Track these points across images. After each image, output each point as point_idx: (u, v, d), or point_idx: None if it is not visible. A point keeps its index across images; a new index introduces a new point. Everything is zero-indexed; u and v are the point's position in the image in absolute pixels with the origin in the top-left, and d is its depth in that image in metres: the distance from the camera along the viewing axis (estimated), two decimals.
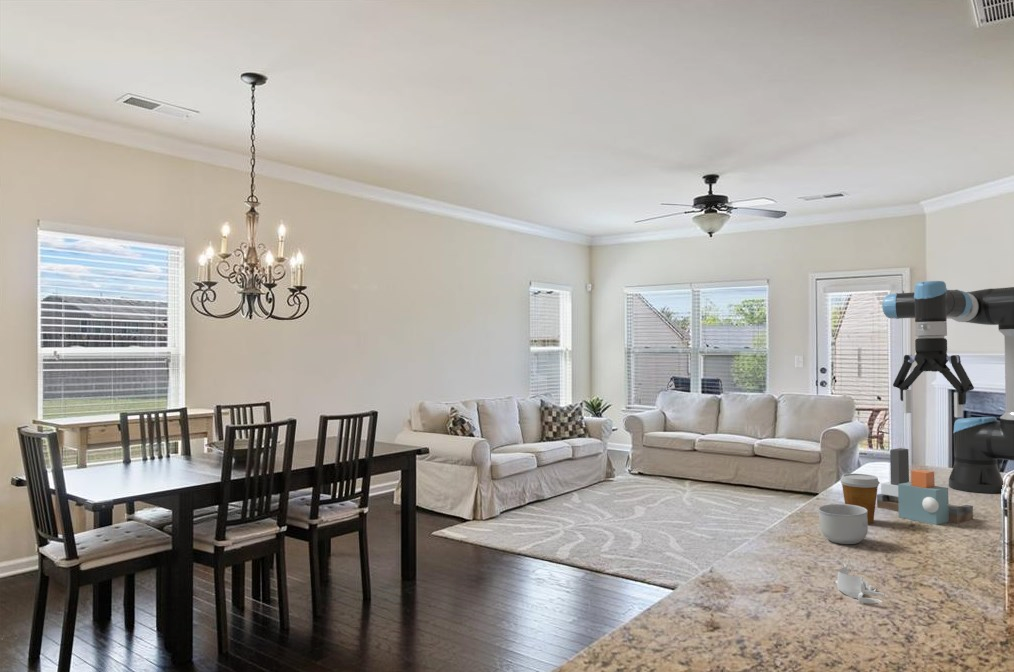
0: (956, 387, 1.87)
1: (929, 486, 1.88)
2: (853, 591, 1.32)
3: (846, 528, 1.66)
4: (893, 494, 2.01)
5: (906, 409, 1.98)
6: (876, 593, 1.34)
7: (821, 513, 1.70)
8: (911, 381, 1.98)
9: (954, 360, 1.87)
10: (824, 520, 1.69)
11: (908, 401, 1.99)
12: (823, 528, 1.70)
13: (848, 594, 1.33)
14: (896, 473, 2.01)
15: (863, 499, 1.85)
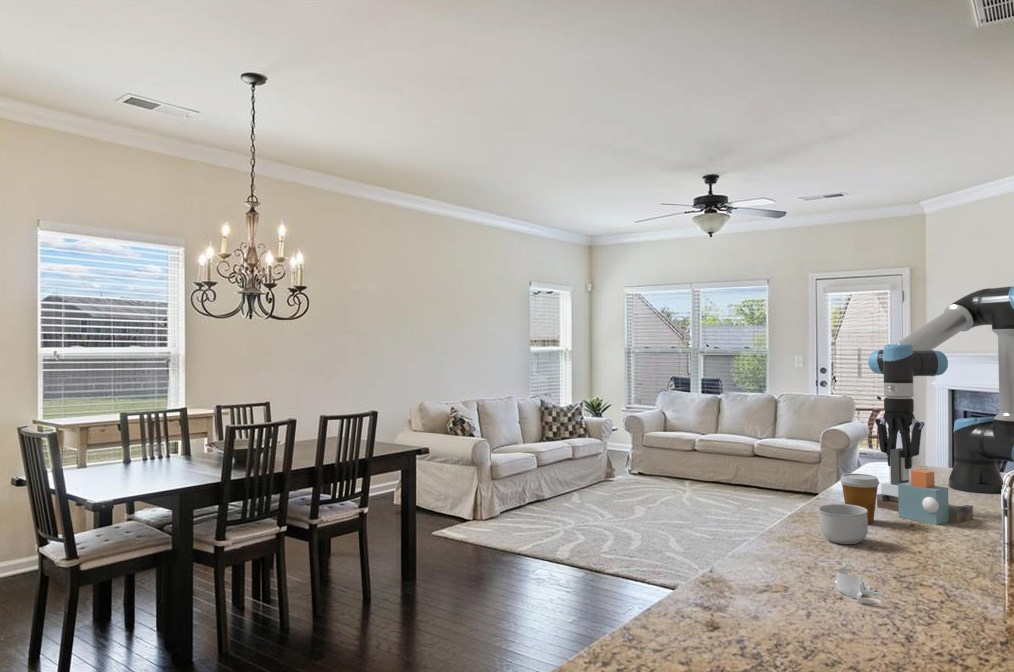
0: (904, 451, 2.01)
1: (929, 486, 1.88)
2: (852, 591, 1.32)
3: (846, 528, 1.66)
4: (893, 494, 2.01)
5: None
6: (875, 593, 1.34)
7: (821, 513, 1.70)
8: (893, 444, 2.04)
9: (916, 427, 1.98)
10: (824, 520, 1.69)
11: None
12: (823, 528, 1.70)
13: (847, 594, 1.33)
14: (897, 473, 2.01)
15: (863, 499, 1.85)
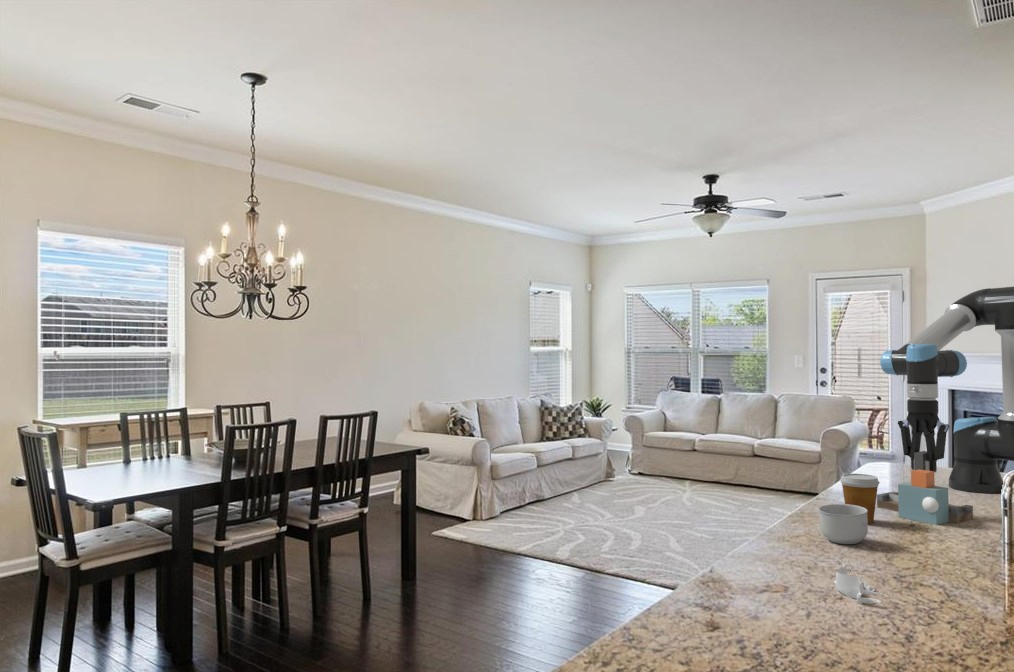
0: (929, 455, 1.95)
1: (929, 486, 1.88)
2: (852, 591, 1.32)
3: (846, 528, 1.66)
4: None
5: None
6: (874, 593, 1.34)
7: (821, 513, 1.70)
8: (917, 446, 1.99)
9: (941, 429, 1.92)
10: (824, 520, 1.69)
11: None
12: (823, 528, 1.70)
13: (846, 594, 1.33)
14: None
15: (863, 499, 1.85)
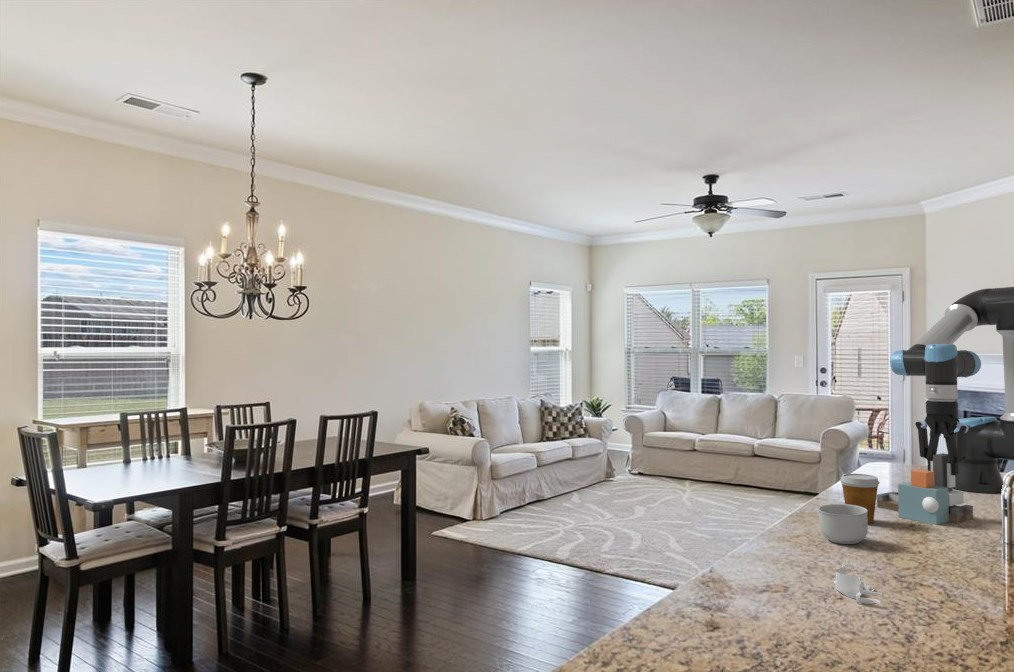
0: (950, 457, 1.90)
1: (929, 486, 1.88)
2: (851, 591, 1.32)
3: (846, 528, 1.66)
4: None
5: None
6: (874, 593, 1.34)
7: (821, 513, 1.70)
8: (934, 448, 1.95)
9: (962, 431, 1.87)
10: (824, 520, 1.69)
11: None
12: (823, 528, 1.70)
13: (846, 594, 1.33)
14: (940, 480, 1.91)
15: (863, 499, 1.85)
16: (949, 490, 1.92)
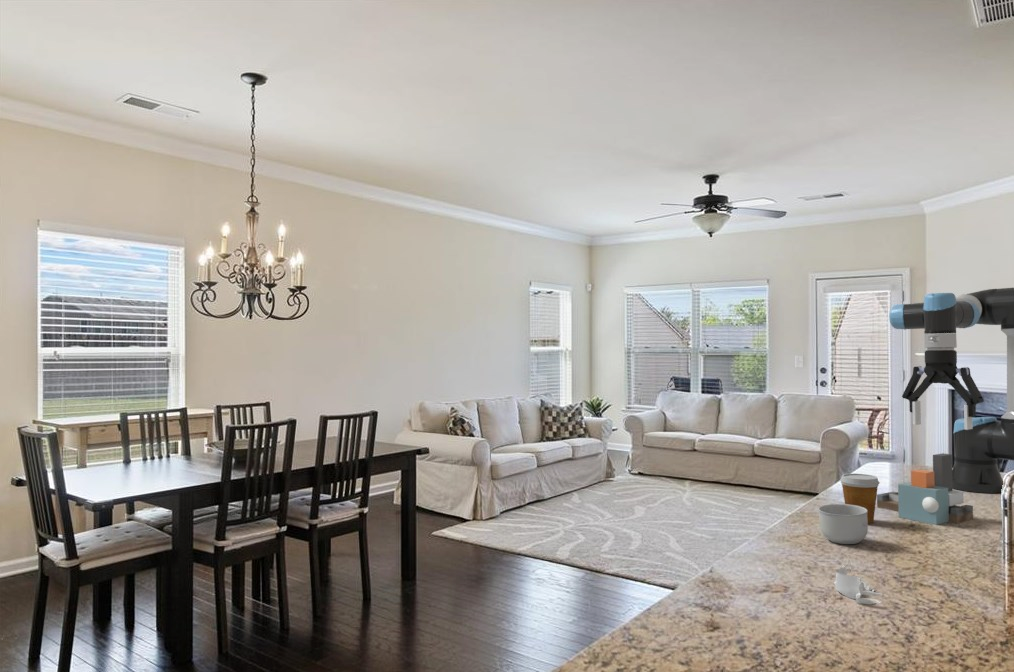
0: (966, 399, 1.86)
1: (929, 486, 1.88)
2: (851, 591, 1.32)
3: (846, 528, 1.66)
4: None
5: (915, 421, 1.98)
6: (874, 593, 1.34)
7: (821, 513, 1.70)
8: (920, 393, 1.98)
9: (963, 372, 1.87)
10: (824, 520, 1.69)
11: (917, 413, 1.98)
12: (823, 528, 1.70)
13: (846, 594, 1.33)
14: (940, 480, 1.91)
15: (863, 499, 1.85)
16: (949, 490, 1.92)
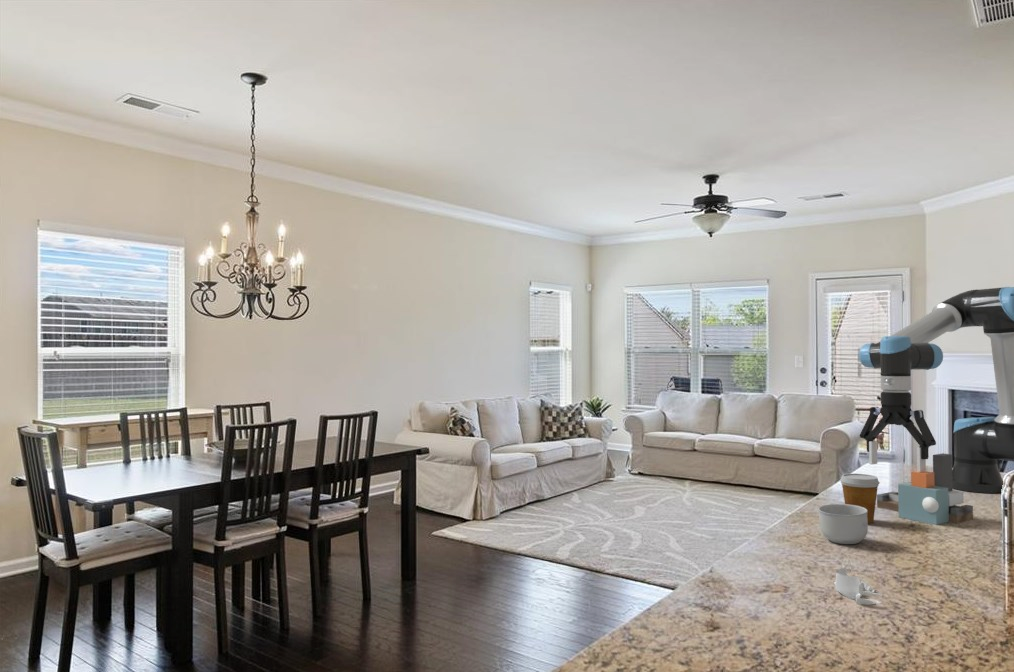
0: (919, 442, 1.90)
1: (929, 486, 1.88)
2: (851, 592, 1.32)
3: (846, 528, 1.66)
4: None
5: (871, 460, 2.01)
6: (874, 594, 1.34)
7: (821, 513, 1.70)
8: (877, 433, 2.01)
9: (917, 415, 1.90)
10: (824, 520, 1.69)
11: (874, 453, 2.02)
12: (823, 528, 1.70)
13: (846, 595, 1.33)
14: (940, 480, 1.91)
15: (863, 499, 1.85)
16: (949, 490, 1.92)
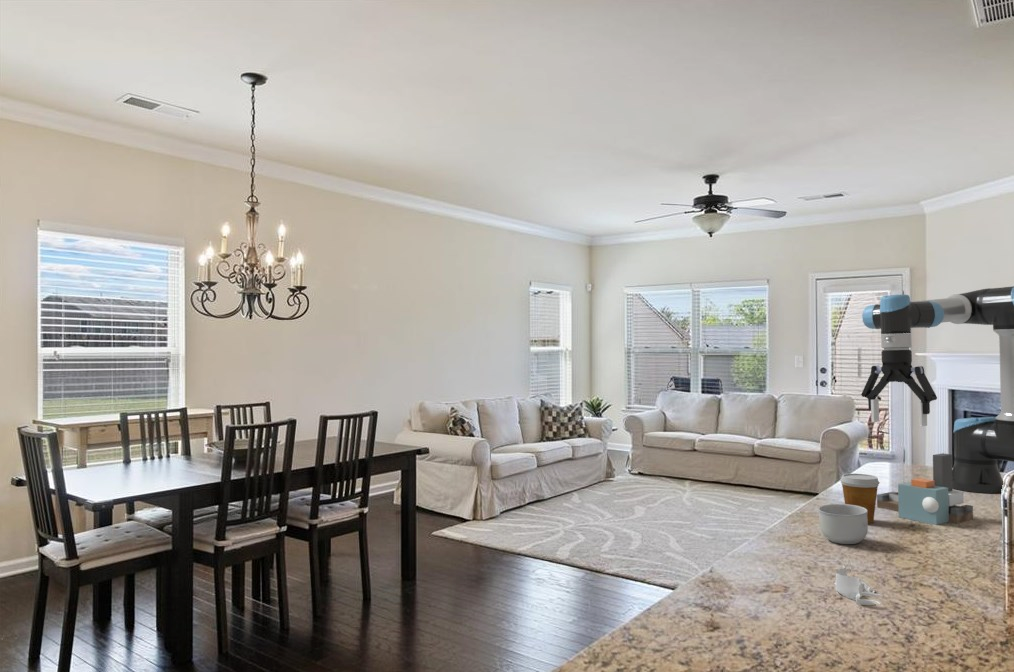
0: (920, 397, 1.93)
1: None
2: (851, 592, 1.32)
3: (846, 528, 1.66)
4: None
5: (873, 418, 2.05)
6: (875, 595, 1.33)
7: (821, 513, 1.70)
8: (878, 391, 2.05)
9: (918, 371, 1.94)
10: (824, 520, 1.69)
11: (876, 410, 2.05)
12: (823, 528, 1.70)
13: (846, 595, 1.33)
14: (940, 480, 1.91)
15: (863, 499, 1.85)
16: (949, 490, 1.92)
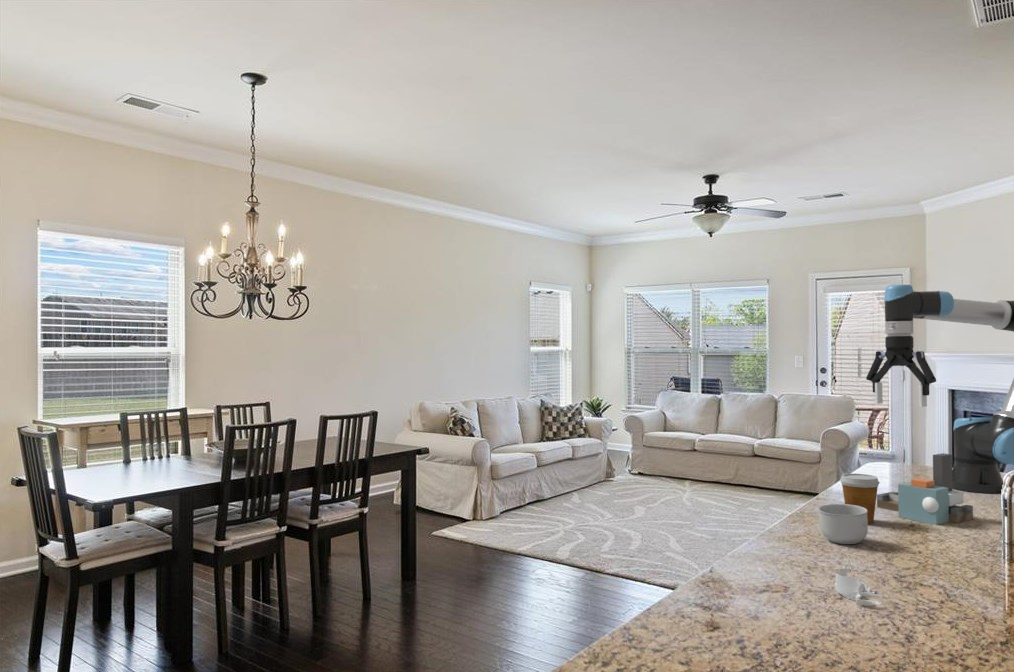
0: (920, 380, 2.09)
1: None
2: (851, 593, 1.31)
3: (846, 528, 1.66)
4: None
5: (877, 400, 2.20)
6: (875, 595, 1.33)
7: (821, 513, 1.70)
8: (882, 375, 2.20)
9: (918, 355, 2.09)
10: (824, 520, 1.69)
11: (879, 393, 2.21)
12: (823, 528, 1.70)
13: (846, 596, 1.32)
14: (940, 480, 1.91)
15: (863, 499, 1.85)
16: (949, 490, 1.92)
